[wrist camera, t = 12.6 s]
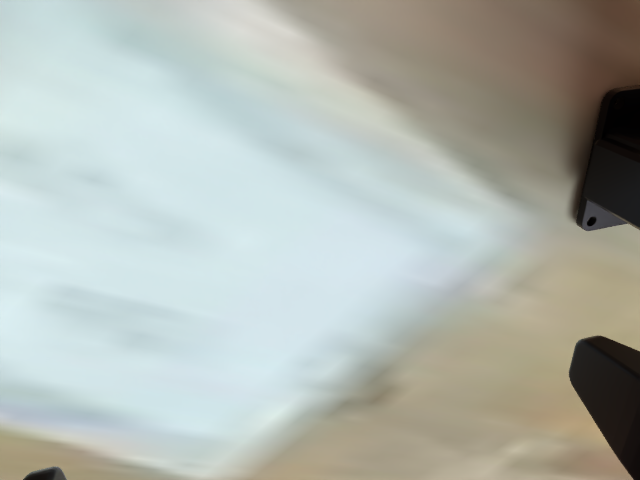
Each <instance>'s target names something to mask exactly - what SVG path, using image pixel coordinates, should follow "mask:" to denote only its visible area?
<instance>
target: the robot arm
mask: <svg viewBox="0 0 640 480" xmlns="http://www.w3.org/2000/svg"><path fill="white" fill-rule="evenodd" d="M616 99H617V102H616V104H615V105H614V103H615V100H616ZM589 218H590V219H589ZM588 219H589V220H588ZM576 223H577V225H578V226H579V227H581V228H582V229H584V230H586V231H591V230H596V229H602V228H607V227H612V226H617V225H622V224H627V223H628V224H630V225H632V226H634V227H635V228H637V229H639V230H640V85H639V86H632V87H624V88H617V89H613V90H610V91H609V92H608V93H607V94H606V95H605V96H604V98H603V101H602V104H601V109H600V113H599V118H598V122H597V127H596V132H595V136H594V141H593V146H592V150H591V155H590V159H589V164H588V169H587V173H586V178H585V183H584V187H583V192H582V196H581V201H580V206H579V210H578V215H577V220H576ZM569 377H570V381H571V384H572V386H573V387H574V389H575V391H576V392H577V394H578V395H579V397H580V399H581V400H582V402H583V403H584V405H585V407H586V408H587V410H588V411H589V413H590V415H591V416H592V418H593V420H594V421H595V423H596V424H597V426H598V428H599V429H600V431H601V432H602V434H603V436H604V437H605V439H606V440H607V442H608V444H609V445H610V447H611V448H612V450H613V451H614V453H615V454H616V456H617V457H618V459H619V460H620V462H621V463H622V464H623V466H624V467H625V469H626V470H627V471H628V473H629V474H630V475H631V477H632V478H633V479H634V480H640V351H637V350H635V349H633V348H630V347H628V346H625V345H623V344H620V343H618V342H616V341H613V340H611V339H608V338H606V337H603V336H593V337H588V338H584V339H581V340H579V341H578V342H577V343H576V346H575V349H574V353H573V357H572V361H571V365H570V369H569ZM23 480H67V479H66V477H65V475H64V473H63V471H62V470H61V469H60V468H59V467H50V468H46V469H41V470H37V471H34V472H31V473H29V474H28V475H27V476H26V477H25V478H24V479H23Z"/></svg>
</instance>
